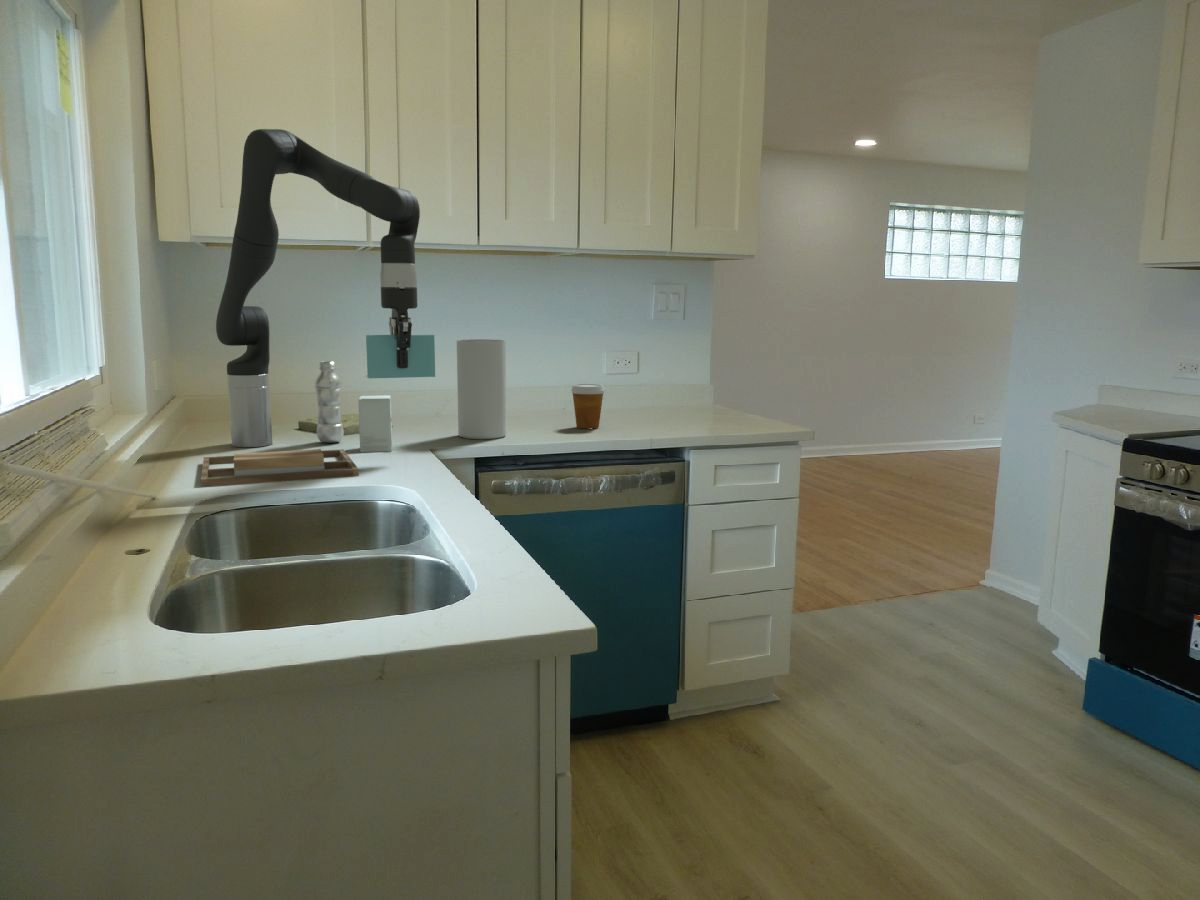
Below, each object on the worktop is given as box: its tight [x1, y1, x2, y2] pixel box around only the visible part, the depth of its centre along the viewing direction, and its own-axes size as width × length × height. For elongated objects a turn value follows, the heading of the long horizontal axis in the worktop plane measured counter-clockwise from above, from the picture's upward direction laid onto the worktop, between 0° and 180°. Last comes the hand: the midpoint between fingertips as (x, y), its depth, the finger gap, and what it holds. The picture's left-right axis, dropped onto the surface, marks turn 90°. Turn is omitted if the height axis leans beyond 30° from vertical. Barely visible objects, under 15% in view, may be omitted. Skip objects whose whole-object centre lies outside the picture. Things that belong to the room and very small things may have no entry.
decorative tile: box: [297, 413, 394, 437], centre depth 236 cm, size 18×20×4 cm
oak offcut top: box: [233, 448, 325, 471], centre depth 166 cm, size 7×16×2 cm, turn 112°
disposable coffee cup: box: [570, 383, 606, 429], centre depth 241 cm, size 10×10×12 cm
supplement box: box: [357, 394, 393, 453], centre depth 202 cm, size 7×7×13 cm
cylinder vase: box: [456, 338, 507, 440], centre depth 223 cm, size 12×12×25 cm
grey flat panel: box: [233, 465, 326, 476], centre depth 166 cm, size 7×16×2 cm, turn 115°
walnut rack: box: [200, 448, 360, 488], centre depth 172 cm, size 24×28×2 cm
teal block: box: [365, 334, 436, 379], centre depth 183 cm, size 2×14×9 cm, turn 113°
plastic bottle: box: [314, 360, 344, 444], centre depth 211 cm, size 6×7×20 cm
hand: (401, 367), depth 184 cm, fingers closed on teal block, 2 cm apart
